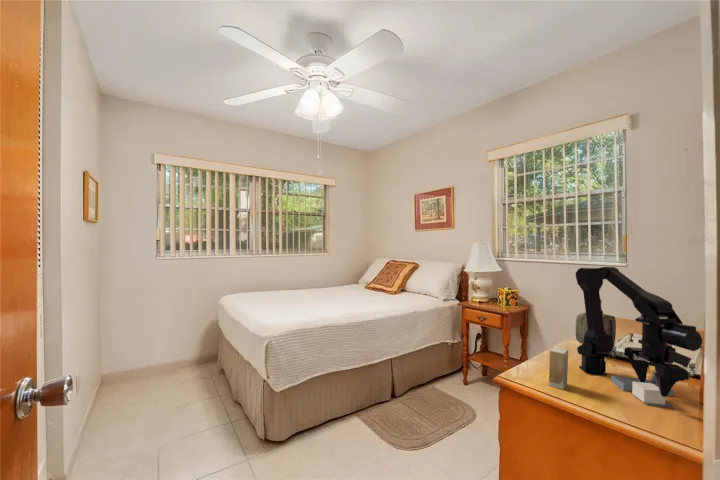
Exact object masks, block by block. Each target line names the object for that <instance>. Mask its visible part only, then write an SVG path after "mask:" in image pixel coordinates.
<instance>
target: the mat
mask: <svg viewBox="0 0 720 480" xmlns="http://www.w3.org/2000/svg"><path fill="white" fill-rule="evenodd" d="M631 395H632V396H634V397H636V396H635V395H633V394H632V393H631ZM636 398H637V397H636ZM637 399H638V400H639V401H641V400H640V399H639V398H637ZM641 402H642V403H643V404H644V405H646V406H651V407H652V406H653V407H659V408H668V409H675V406H674V405H673V404H670V403H669V402H667V401H666V400H665V405H662V404H653V403H645V402H643V401H641Z"/></svg>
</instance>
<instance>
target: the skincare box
mask: <svg viewBox="0 0 720 480" xmlns="http://www.w3.org/2000/svg"><path fill="white" fill-rule="evenodd" d="M568 365H569V348H568V349H567V348H564V347H560V346H552V348H551V349H549V365H548V366H549V369H548V371H549V373H548V386H550V387H553V388H556V389H559V390H565V388H566V387H567V385H568V377H569V376H568V372H569V371H568V369H569V366H568Z"/></svg>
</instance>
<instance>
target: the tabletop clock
mask: <svg viewBox="0 0 720 480" xmlns="http://www.w3.org/2000/svg"><path fill="white" fill-rule="evenodd" d="M600 302H601V303H602V299H601V298H600ZM602 317H603V325H604V330H605V331H606V333H607V334H608V335H612V337H613V344H614V345H615V343H616V333H617V323H616V322H617V321H616V317H615V316H614V315H610V314H607V313H606V314H605V313H604V311H603V310H602ZM587 330H588V326H587V318H586V312H582V313H579V314H577V315H576V319H575V339H576V340H577V342H579V344H581V345H582V344H583V343H584V335H585V333H586V331H587Z"/></svg>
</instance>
